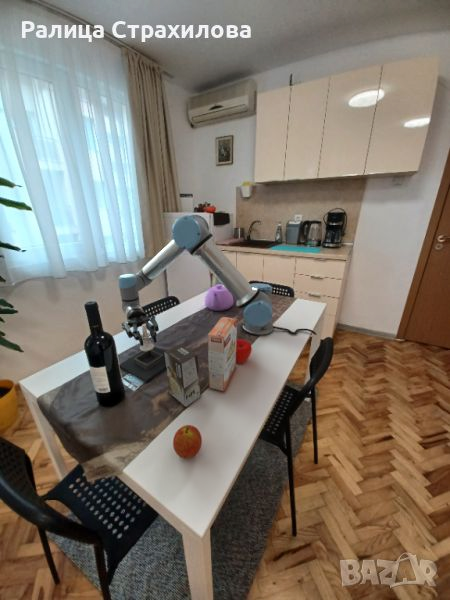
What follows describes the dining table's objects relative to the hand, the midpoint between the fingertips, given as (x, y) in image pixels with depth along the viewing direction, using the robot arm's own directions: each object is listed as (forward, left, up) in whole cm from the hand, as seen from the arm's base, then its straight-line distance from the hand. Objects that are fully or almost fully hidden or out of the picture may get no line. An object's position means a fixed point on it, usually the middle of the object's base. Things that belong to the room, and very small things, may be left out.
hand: (148, 340), depth 84 cm
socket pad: (+5, -2, -13) cm, 14 cm away
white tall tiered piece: (+5, -2, -6) cm, 8 cm away
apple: (-24, -23, -13) cm, 36 cm away
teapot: (+14, -63, -13) cm, 66 cm away
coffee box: (-18, +3, -13) cm, 23 cm away
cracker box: (-24, -11, -13) cm, 30 cm away
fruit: (-32, +17, -13) cm, 39 cm away
